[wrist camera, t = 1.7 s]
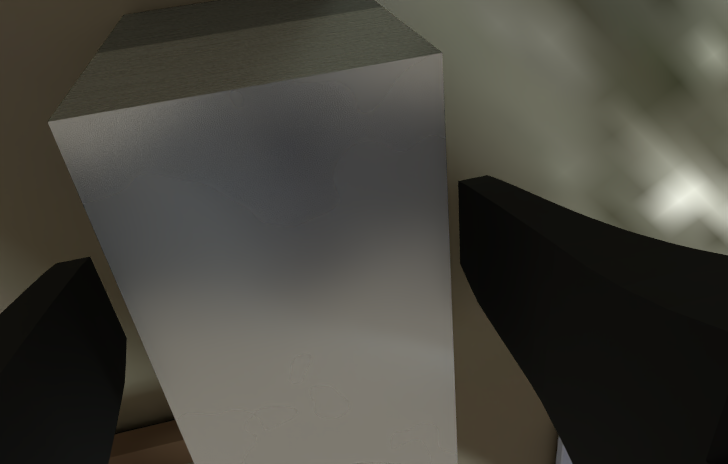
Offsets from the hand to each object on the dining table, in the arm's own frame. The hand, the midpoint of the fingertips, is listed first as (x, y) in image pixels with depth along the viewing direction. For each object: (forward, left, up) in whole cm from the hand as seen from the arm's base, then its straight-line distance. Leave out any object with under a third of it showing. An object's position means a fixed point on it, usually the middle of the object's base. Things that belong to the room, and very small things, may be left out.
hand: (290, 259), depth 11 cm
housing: (0, 0, -3) cm, 3 cm away
